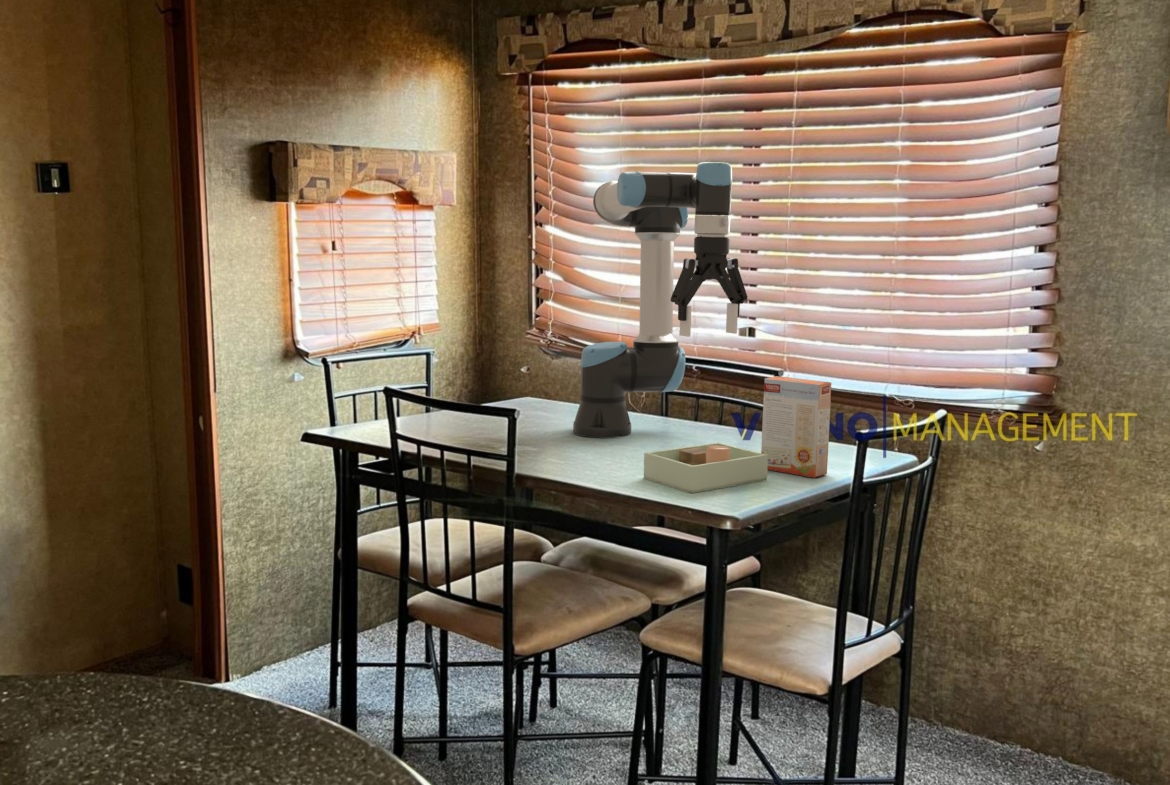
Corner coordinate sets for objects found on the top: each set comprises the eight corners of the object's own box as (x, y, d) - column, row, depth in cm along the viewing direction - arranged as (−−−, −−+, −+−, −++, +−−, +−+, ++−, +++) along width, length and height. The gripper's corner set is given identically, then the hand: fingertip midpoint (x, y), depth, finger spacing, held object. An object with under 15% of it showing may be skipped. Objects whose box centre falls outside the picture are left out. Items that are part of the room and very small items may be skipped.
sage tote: (643, 478, 242) (644, 452, 241) (717, 466, 254) (718, 442, 253) (691, 493, 229) (692, 466, 228) (766, 480, 242) (767, 455, 241)
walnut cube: (678, 472, 245) (679, 450, 244) (696, 469, 248) (696, 447, 247) (693, 477, 241) (694, 454, 240) (711, 474, 244) (711, 452, 243)
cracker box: (828, 474, 248) (833, 381, 245) (814, 479, 244) (819, 384, 241) (773, 464, 257) (777, 374, 254) (759, 468, 253) (763, 377, 250)
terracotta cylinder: (700, 479, 239) (701, 447, 238) (717, 476, 242) (718, 444, 241) (716, 483, 235) (717, 451, 234) (733, 480, 238) (734, 448, 237)
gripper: (679, 236, 230) (676, 339, 233) (766, 236, 244) (761, 333, 248) (656, 235, 236) (653, 335, 239) (742, 235, 250) (738, 330, 254)
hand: (708, 334), depth 243 cm, fingers open, 13 cm apart
